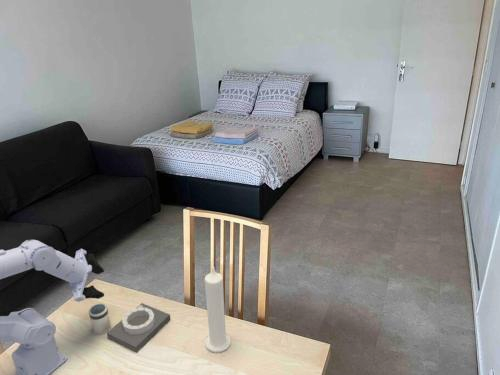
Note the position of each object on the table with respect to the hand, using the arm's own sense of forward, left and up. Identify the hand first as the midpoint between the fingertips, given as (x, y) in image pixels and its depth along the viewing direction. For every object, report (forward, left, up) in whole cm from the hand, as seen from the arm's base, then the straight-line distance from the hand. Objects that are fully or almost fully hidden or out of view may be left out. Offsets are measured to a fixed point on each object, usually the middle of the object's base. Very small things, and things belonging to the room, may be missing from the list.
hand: (101, 283), depth 109 cm
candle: (+8, -34, -13) cm, 37 cm away
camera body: (+2, -11, -13) cm, 17 cm away
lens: (-3, -1, -13) cm, 14 cm away
